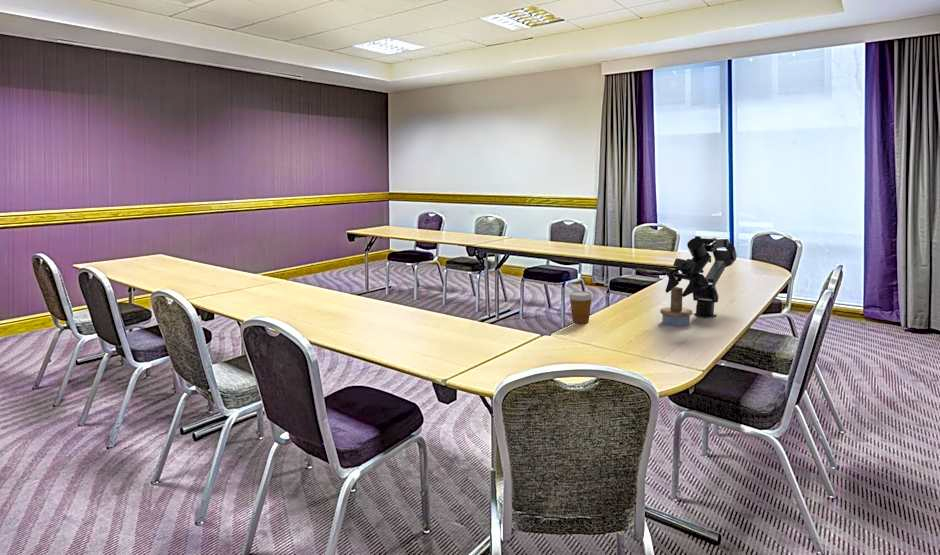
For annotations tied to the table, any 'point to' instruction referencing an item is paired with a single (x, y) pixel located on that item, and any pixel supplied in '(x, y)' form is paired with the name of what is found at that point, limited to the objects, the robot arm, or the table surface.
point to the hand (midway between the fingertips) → (674, 294)
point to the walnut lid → (676, 304)
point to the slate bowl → (676, 320)
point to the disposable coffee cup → (580, 306)
